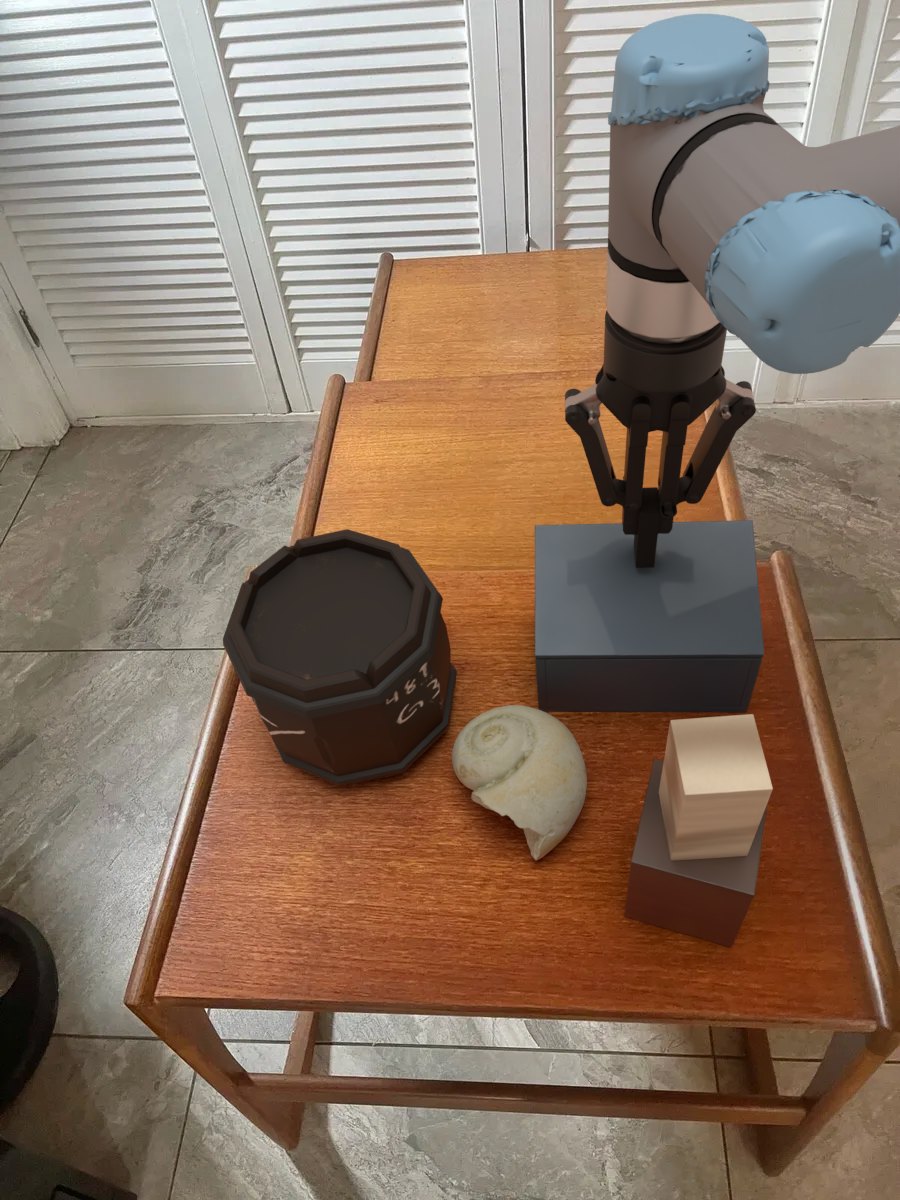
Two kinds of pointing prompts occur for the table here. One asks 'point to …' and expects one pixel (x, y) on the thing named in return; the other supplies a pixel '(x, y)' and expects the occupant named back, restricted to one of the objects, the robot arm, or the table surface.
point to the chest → (646, 684)
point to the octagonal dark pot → (344, 655)
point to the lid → (647, 593)
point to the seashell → (524, 771)
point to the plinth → (688, 880)
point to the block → (713, 786)
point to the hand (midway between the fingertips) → (643, 554)
